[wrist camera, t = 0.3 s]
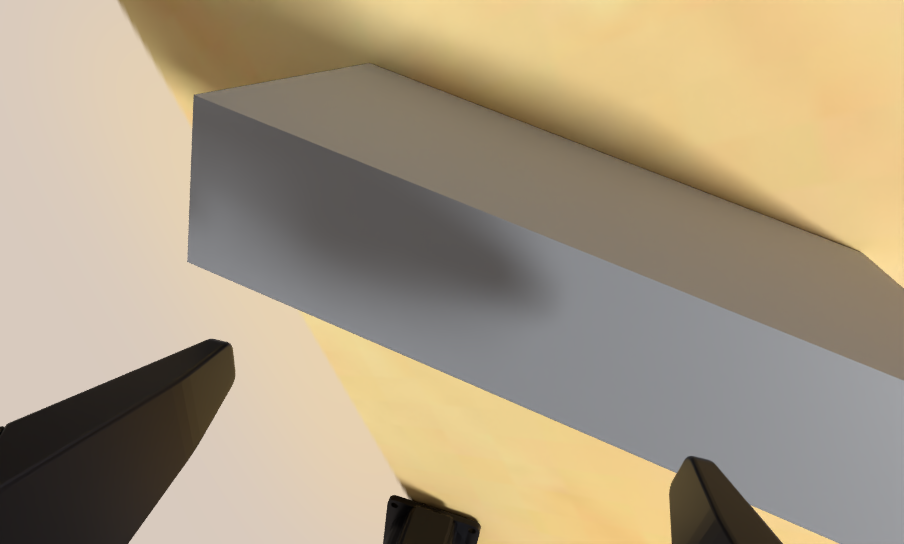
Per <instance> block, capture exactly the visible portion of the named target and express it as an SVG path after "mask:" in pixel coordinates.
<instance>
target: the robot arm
mask: <svg viewBox="0 0 904 544" xmlns="http://www.w3.org/2000/svg"><path fill="white" fill-rule="evenodd" d="M234 379H235V365H234V356H233V348H232V346H231V344H229V343H228V342H224V341H220V340H216V339H208V340H205V341H203V342H201V343H198V344H196V345H194V346H191V347H189V348H186V349H184V350H182V351H179V352H177V353H175V354H172V355H170V356H168V357H165V358H163V359H160V360H158V361H156V362H153V363H151V364H149V365H146V366H144V367H141V368H139V369H137V370H134V371H132V372H129V373H127V374H125V375H122V376H120V377H118V378H115V379H113V380H110V381H108V382H106V383H103V384H101V385H98V386H96V387H94V388H92V389H89V390H87V391H84V392H82V393H80V394H77V395H75V396H72V397H70V398H68V399H66V400H63V401H61V402H58V403H56V404H54V405H51V406H49V407H46V408H44V409H41V410H39V411H37V412H34V413H32V414H30V415H27V416H25V417H23V418H20V419H18V420H15V421H13V422H10V423H8V424H7V425H6V426H5V427H3V426H2V427H0V544H128V543H129V541H130V540H131V539H132V537H133V536H134V534H135V533H136V532H137V530H138V529H139V528H140V526H141V525H142V523H143V522H144V521H145V519H146V518H147V516H148V515H149V514H150V512H151V511H152V510H153V508H154V507H155V505H156V504H157V503H158V501H159V500H160V498H161V497H162V496H163V494H164V493H165V491H166V490H167V489H168V487H169V486H170V485H171V483H172V482H173V480H174V479H175V478H176V476H177V475H178V473H179V472H180V471H181V469H182V468H183V466H184V465H185V464H186V462H187V461H188V459H189V458H190V456H191V455H192V454H193V452H194V450H195V449H196V447H197V445H198V444H199V442H200V441H201V439H202V437H203V436H204V434H205V432H206V430H207V428H208V427H209V425H210V423H211V422H212V420H213V418H214V416H215V415H216V413H217V411H218V409H219V407H220V406H221V404H222V402H223V401H224V399H225V397H226V395H227V393H228V392H229V390H230V388H231V387H232V385H233V382H234ZM669 500H670V519H671V537H672V544H783V543H782V542H781V541H780V540H779V538H778V537H777V536H776V535H775V534H774V533H773V531H772V530H771V529H770V528H769V527H768V525H767V524H766V523H765V522H764V521H763V520H762V518H761V517H760V516H759V515H758V514H757V513H756V511H755V510H754V509H753V508H752V507H751V505H750V504H749V503H748V502H747V501H746V500H745V498H744V497H743V496H742V495H741V494H740V492H739V491H738V490H737V489H736V488H735V487H734V485H733V484H732V483H731V482H730V481H729V479H728V478H727V477H726V476H725V475H724V474H723V472H722V471H721V470H720V469H719V468H718V466H717V465H716V464H715V463H714V462H712V461H711V460H708V459H704V458H700V457H696V456H688V457H687V458H686V459H685V460H684V462H683V463H682V465H681V467H680V469H679V470H678V472H677V474H676V476H675V477H674V479H673V481H672V483H671V486H670V492H669ZM480 529H481V526H480V524H479V523H478V522H476V521H473V520H470V519H467V518H464V517H461V516H458V515H455V514H451V513H448V512H445V511H442V510H439V509H436V508H433V507H430V506H427V505H424V504H421V503H418V502H415V501H412V500H409V499H406V498H402V497H399V496H396V495H393V496H391V497H390V499H389V501H388V505H387V513H386V522H385V532H384V541H383V544H477V541H478V537H479V533H480Z"/></svg>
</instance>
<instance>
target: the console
mask: <svg viewBox="0 0 904 544" xmlns="http://www.w3.org/2000/svg"><path fill="white" fill-rule="evenodd" d="M191 156H192V157H191V182H190V209H189V235H188V261H187V262H189V263H191V264H194V265H196V266H198V267H201V268H203V269H205V270H208V271H210V272H212V273H214V274H217V275H219V276H221V277H224V278H226V279H228V280H231V281H233V282H235V283H238V284H240V285H242V286H245V287H247V288H249V289H252V290H254V291H256V292H259V293H261V294H263V295H266V296H268V297H270V298H272V299H275V300H277V301H280V302H282V303H284V304H286V305H289V306H291V307H293V308H296V309H298V310H300V311H302V312H305V313H307V314H309V315H312V316H314V317H316V318H319V319H321V320H323V321H326V322H328V323H330V324H333V325H335V326H337V327H340V328H342V329H344V330H346V331H349V332H351V333H353V334H356V335H358V336H360V337H363V338H365V339H367V340H370V341H372V342H374V343H377V344H379V345H381V346H384V347H386V348H388V349H390V350H393V351H395V352H397V353H400V354H402V355H404V356H407V357H409V358H411V359H414V360H416V361H418V362H421V363H423V364H425V365H428V366H430V367H432V368H434V369H437V370H439V371H441V372H444V373H446V374H448V375H451V376H453V377H455V378H458V379H460V380H462V381H465V382H467V383H469V384H472V385H474V386H476V387H478V388H481V389H483V390H485V391H488V392H490V393H492V394H495V395H497V396H499V397H502V398H504V399H506V400H509V401H511V402H513V403H516V404H518V405H520V406H523V407H525V408H527V409H529V410H532V411H534V412H536V413H539V414H541V415H543V416H546V417H548V418H550V419H553V420H555V421H557V422H560V423H562V424H564V425H567V426H569V427H571V428H573V429H576V430H578V431H580V432H583V433H585V434H587V435H590V436H592V437H594V438H597V439H599V440H601V441H604V442H606V443H608V444H611V445H613V446H615V447H617V448H620V449H622V450H624V451H627V452H629V453H631V454H634V455H636V456H638V457H641V458H643V459H645V460H648V461H650V462H652V463H655V464H657V465H659V466H661V467H664V468H666V469H668V470H671V471H673V472H675V473H677V472H678V470H679V469H680V467H681V465H682V463H683V462H684V460H685V459H686V458H687V457H688V456H696V457H700V458H704V459H708V460H711V461H712V462H714V463H715V464H716V465H717V466H718V468H719V469H720V470H721V471H722V472H723V474H724V475H725V476H726V477H727V478H728V479H729V481H730V482H731V483H732V484H733V485H734V487H735V488H736V489H737V490H738V491H739V492H740V494H741V495H742V496H743V497H744V498H745V500H746V501H747V502H748V503H749V504H750V505H752V506H754V507H756V508H759V509H761V510H763V511H766V512H768V513H770V514H773V515H775V516H777V517H780V518H782V519H784V520H787V521H789V522H791V523H793V524H796V525H798V526H800V527H803V528H805V529H807V530H810V531H812V532H814V533H817V534H819V535H821V536H824V537H826V538H828V539H831V540H833V541H835V542H837V543H840V544H904V288H902V287H901V286H900V285H899V284H898V283H897V282H895V281H894V280H893V279H892V278H891V277H890V276H889V275H887V274H886V273H885V272H884V271H883V270H882V269H880V268H879V267H878V266H877V265H876V264H875V263H874V262H872V261H871V260H870V259H869V258H868V257H867V256H865V255H864V254H863V253H861V252H859V251H856V250H854V249H851V248H848V247H846V246H843V245H841V244H838V243H835V242H833V241H830V240H828V239H825V238H822V237H820V236H817V235H815V234H812V233H809V232H807V231H804V230H802V229H799V228H796V227H794V226H791V225H789V224H786V223H783V222H781V221H778V220H776V219H773V218H770V217H768V216H765V215H763V214H760V213H758V212H755V211H752V210H750V209H747V208H745V207H742V206H739V205H737V204H734V203H732V202H729V201H726V200H724V199H721V198H719V197H716V196H713V195H711V194H708V193H706V192H703V191H700V190H698V189H695V188H693V187H690V186H687V185H685V184H682V183H680V182H677V181H674V180H672V179H669V178H667V177H664V176H661V175H659V174H656V173H654V172H651V171H649V170H646V169H643V168H641V167H638V166H636V165H633V164H630V163H628V162H625V161H623V160H620V159H617V158H615V157H612V156H610V155H607V154H604V153H602V152H599V151H597V150H594V149H591V148H589V147H586V146H584V145H581V144H578V143H576V142H573V141H571V140H568V139H565V138H563V137H560V136H558V135H555V134H552V133H550V132H547V131H545V130H542V129H539V128H537V127H534V126H532V125H529V124H527V123H524V122H521V121H519V120H516V119H514V118H511V117H508V116H506V115H503V114H501V113H498V112H495V111H493V110H490V109H488V108H485V107H482V106H480V105H477V104H475V103H472V102H469V101H467V100H464V99H462V98H459V97H456V96H454V95H451V94H449V93H446V92H443V91H441V90H438V89H436V88H433V87H430V86H428V85H425V84H423V83H420V82H418V81H415V80H412V79H410V78H407V77H405V76H402V75H399V74H397V73H394V72H392V71H389V70H386V69H384V68H381V67H379V66H376V65H373V64H371V63H367V64H362V65H356V66H351V67H345V68H340V69H334V70H329V71H323V72H318V73H312V74H307V75H301V76H295V77H290V78H284V79H279V80H273V81H268V82H262V83H257V84H251V85H246V86H240V87H235V88H229V89H224V90H218V91H212V92H207V93H201V94H196V95H194V102H193V128H192V155H191Z"/></svg>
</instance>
